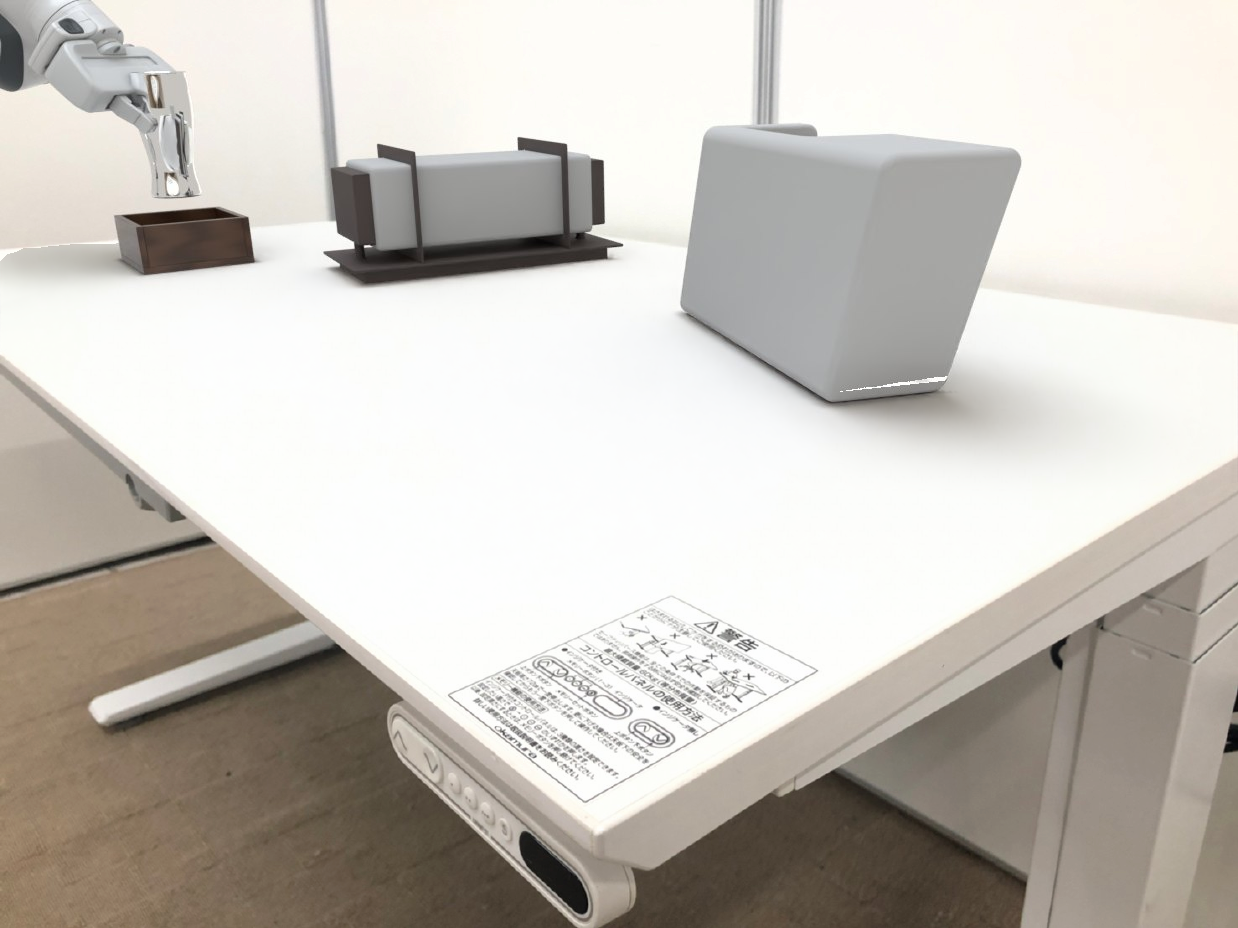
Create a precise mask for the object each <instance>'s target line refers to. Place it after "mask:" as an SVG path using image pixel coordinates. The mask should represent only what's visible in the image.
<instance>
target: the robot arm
mask: <svg viewBox="0 0 1238 928" xmlns="http://www.w3.org/2000/svg"><path fill="white" fill-rule="evenodd" d="M124 41H125V36H124V32H123V30H122V29H121V28H120V27H119V26H118V25H117V24H116V23H115V22H114V21H113V20H112V19H111V18H110V17H109V16H108V15H107V14H106V13H105V12H104V11H103V10H102V9H100V7H99V6H97V5H96V3H95V2H93V0H0V90H3V91H6V92H11V93H14V92H15V93H16V92H19V91H24V90H28V89H31V88H34V87H39V86H41V85H47V84H50V85H51V86H52V88H54V89H55V90H56V91H57V92H58V93H59V94H61V95H62V96H63V97H64V98H65V99H66V100H67V101H68V102H69V103H71V104H72V105H73V106H74V107H75V108H78V109H79V110H81V111H83V112H86V113H87V114H93V113H104V112H112V113H113V114H115V116H117V117H118V118H120V119H122V120H123V121H125V122H127V123H129V124H131V125H133V126H134V127H135V128H137V130H138V131H139V130H140V131H141V132H142V133H144V134H146V133H152V132H154V130H155V128H156V127H157V125H158V124H157V121H156V120H154V119H153V118H152V117H151V116H150V115H149V114H148V113H143V112H142V111H140V110H139V109H138V108H136V107H135V106H134V105H133V102H132V94H134V92H135V90H134V87H133V85H132V83H131V80H130V74H129V72H161V71H177V70H176V69H175V68H173V66H171V65H170V64H169V63H168V62H166V61H165V60H164V59H163V58H162V57H161V56H160V55H158V54H157V53H156V52H155V51H153V50H151V49H150V48H147V47H145V46H135V45H134V44H132V43H125V44H124Z"/></svg>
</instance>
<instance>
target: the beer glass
mask: <svg viewBox="0 0 1238 928" xmlns="http://www.w3.org/2000/svg"><path fill="white" fill-rule="evenodd" d="M129 74H130V80H131V83H132V85H133V87H134V90H135V92H134V94H132V102H133V105H134V106H135V107H136V108H138V109H139V110H140V111H142V112H143V113H148V114H149V115H150V116H151V117H152V118H153V119H154V120H156V121H157V124H158V125H157V127H156V128H155V130H154V132H152V133H146V134H144V133H142V132H141V131H140V130H139V129H138V132H139V135H140V138H141V142H142V144H143V147H144V149H145V152H146V156H147V158H148V162H149V166H150V174H151V190H150V191H151V197H152V198H155V199H168V200H169V199H185V198H186V199H187V198H195V197H198V196H202V195H203V190H202V187H201V184H200V181H199V178H198V174H197V170H196V166H195V163H196V162H195V130H196V129H195V125H196V124H195V111H194V105H193V98H192V94H191V90H190V89H191V88H190V84H189V80H188V76H187V71H186V70H184V71H183V70H180V71H179V70H176V71H161V72H129Z"/></svg>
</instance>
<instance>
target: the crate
mask: <svg viewBox="0 0 1238 928" xmlns="http://www.w3.org/2000/svg"><path fill="white" fill-rule="evenodd" d="M113 219H114V224H115V229H116V236H117V241H118V247H119V251H120V258H121V260H122V261H123V262H124V263H126V264H128V265H130V266H131V267H132V268H134V269H136V270H137V271H138V272H140V273H141V274H143V275H152V274H161V273H163V274H164V273H170V272H171V273H172V272H180V271H188V270H196V269H197V270H198V269H206V268H216V267H223V266H232V265H234V266H235V265H242V264H251V263H255V262H256V261H255V255H254V248H253V247H254V245H253V240H252V233H251V225H250V218H249V216H246V215H244V214H241V213H239V212H235V211H233V210H230V209H227V208H224V207H222V206H208V207H207V206H206V207H196V208H184V209H172V210H160V211H149V212H148V211H147V212H137V213H135V212H134V213H126V214H113Z"/></svg>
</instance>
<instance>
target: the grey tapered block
mask: <svg viewBox="0 0 1238 928" xmlns="http://www.w3.org/2000/svg"><path fill="white" fill-rule="evenodd" d="M1021 168H1022V157H1021V155H1020V152H1018V151H1017V150H1016V149H1015V148H1013V147H1007V146H998V145H989V144H982V143H974V142H973V143H972V142H964V141H956V140H955V141H954V140H947V139H940V138H939V139H938V138H929V137H920V136H911V135H905V134H895V133H875V134H874V133H873V134H851V135H846V134H845V135H821V136H818V130H817V128H816V127H815V126H814V125H813V124H809V123H801V122H792V123H790V122H789V123H764V124H763V123H761V124H759V123H758V124H732V125H731V124H730V125H728V124H727V125H714V126H711V127H709V128H708V129H707V130H706V131H705V132H704V135H703V137H702V144H701V150H700V158H699V166H698V172H697V178H696V179H697V180H696V186H695V192H694V193H695V194H694V201H693V206H692V214H691V223H690V229H689V236H688V243H687V251H686V257H685V265H684V273H683V280H682V285H681V293H680V301H679V305H680V308H681V310H682V311H683V312H685V313H687V314H688V315H690V316H692V317H694V318H695V319H697V320H698V321H699V322H701V323H703V324H704V325H706V326H707V327H709V328H711V329H712V330H714V331H715V332H717V333H719V334H720V335H723V336H724V337H725V338H726V339H728V340H729V341H731V342H733V343H734V344H736V345H738V346H740V347H741V348H742V349H744V350H745V351H747V352H749V353H751V354H752V355H754V356H756V357H757V358H759V359H760V360H762V361H763V362H765V363H767V364H768V365H770V366H772V368H775V369H776V370H778V371H779V372H782V373H783V374H784V375H786V376H788V377H789V378H790V379H792V380H794V381H796V382H797V383H799V384H800V385H802V386H803V387H805V388H806V389H808V390H810V391H811V392H813V393H815V394H816V395H818V396H820V398H822V399H825V400H826V401H828V402H831V403H839V402H848V401H849V402H850V401H856V400H858V401H859V400H866V399H867V400H869V399H876V398H887V397H895V396H904V395H914V394H923V393H932V392H935V391H937V390H940V389H941V387H943V386H944V385H945V384H946V382H947V380H945V381H938V382H929V383H919V384H910V385H900V386H891V387H881V388H872V389H862V390H853V391H846V390H852V389H858V388H859V389H860V388H864V387H865V388H866V387H877V386H883V385H887V384H893V383H898V382H908V381H909V382H910V381H915V380H922V379H927V378H934V377H945V376H948V377H949V374H950V372H951V369H952V365H953V363H954V360H955V357H956V354H957V352H958V348H959V345H960V343H961V340H962V336H963V334H964V331H965V329H966V325H967V322H968V319H969V316H970V314H971V312H972V308H973V305H974V302H975V300H976V298H977V293H978V291H979V288H980V285H981V282H982V280H983V277H984V274H985V272H986V268H987V265H988V261H989V259H990V257H991V254H992V252H993V248H994V245H995V243H996V239H997V236H998V234H999V231H1000V228H1001V225H1002V222H1003V220H1004V216H1005V214H1006V210H1007V208H1008V205H1009V202H1010V199H1011V196H1012V195H1013V194H1012V193H1013V191H1014V188H1015V186H1016V182H1017V179H1018V176H1019V174H1020V171H1021ZM840 391H843V392H840Z"/></svg>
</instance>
